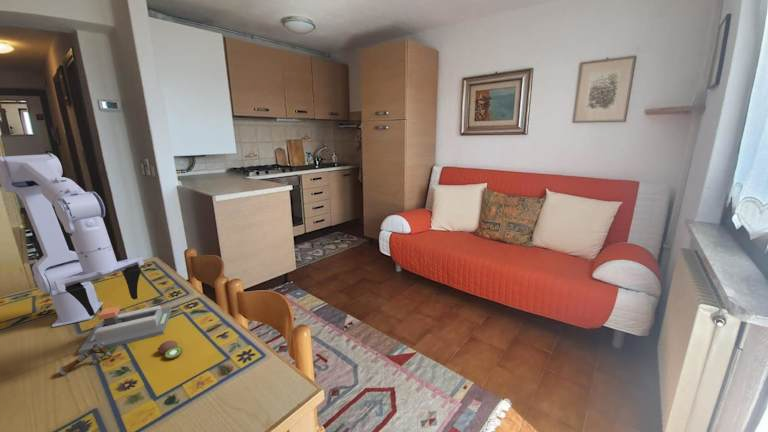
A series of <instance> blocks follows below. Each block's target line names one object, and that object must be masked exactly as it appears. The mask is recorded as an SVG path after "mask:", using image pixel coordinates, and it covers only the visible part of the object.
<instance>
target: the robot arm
mask: <svg viewBox="0 0 768 432" xmlns="http://www.w3.org/2000/svg"><path fill="white" fill-rule="evenodd" d="M63 173H64V172H63V167H62V164H61V161H60V160H59V158H58V157H57V156H56V155H55V154H53V153H45V154H29V155H26V154H25V155H10V156H9V155H8V156H7V155H6V156H1V155H0V185H1V187H2V188H3V189H4V191H5V192H7V193H13V194H16V195H17V196H18V197H19V199H20V201H21V202H22V205H23V206H24V209H25V212H26V213H27V217H28V219H29V221H30V224H31V227H32V229H33V231H34V233H35V236H36V239H37V242H38V243H39V247H40V249H41V252H42V254H43V255H42V256H41V258H39V259H38V260H37V261H36V262H35V263H34V264H33V265H32V268H31V270H32V273H33V278H34V279H33V280H34V281H35V284H36V286H37V288H38V290H39V291H40V292H41V293H44V294H47V295H48V294H49V295H50V299H51V301H52V304H53V307H54V309H55V313H56V315H57V320H56V321H55V322H54V323H52V325H51V328H55V327H61V326H65V325H69V324H71V325H72V324H74V323H79V322H83V321H89V320H91V319H93V317H94V316H95V315H96V313H97V312H98V311H99V309H100V308H101V307H102V305H103V304H104V301H99V299H98V295H97V293H96V290H95V289H96V288H95V286H94V284H93V283H92V282H91V281H94V280H98V279H100V278H103V277H107V276H109V275H113V274H116V273H119V272H121V273H122V275H123V277H124V280H125V281H126V285H127V289H128V292H129V296H130V298H131V299H132V300H137V299H138V285H139V279H140V276H141V273H142V269H141V267H142V266H144V265H145V263H144V260H143V257H142V256H139V255H138V256H136V257H135V256H134V257H132V258H127V259H123V260H119V261H117V258H116V254H115V252H114V249H113V245H112V243H111V239H110V237H109V234H108V230H107V227H106V225H105V222H104V217H105V216H106V207H105V204H104V202H103V200H102V198H101V197H100V195H99V194H98V193H97V192H96V191H85V190H84V189H83V188H82V187H81V186H80V185H78V184H77V183H76V182H75V181H74V180H73V179H71V178H68V177H64V176H63ZM62 176H63V177H62ZM58 219H59V220H60V223H61V224H62V226H63V228H64V230H65V232H66V233H68V234H69V237H70V239H71V243H72V245H73V248H74V250H75V251H74V250H70V249H69V246H68V244H67V241H66V238H65V236H64V233H63V230H62V228H61V224H60V223H59V221H58ZM140 266H141V267H140Z"/></svg>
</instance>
